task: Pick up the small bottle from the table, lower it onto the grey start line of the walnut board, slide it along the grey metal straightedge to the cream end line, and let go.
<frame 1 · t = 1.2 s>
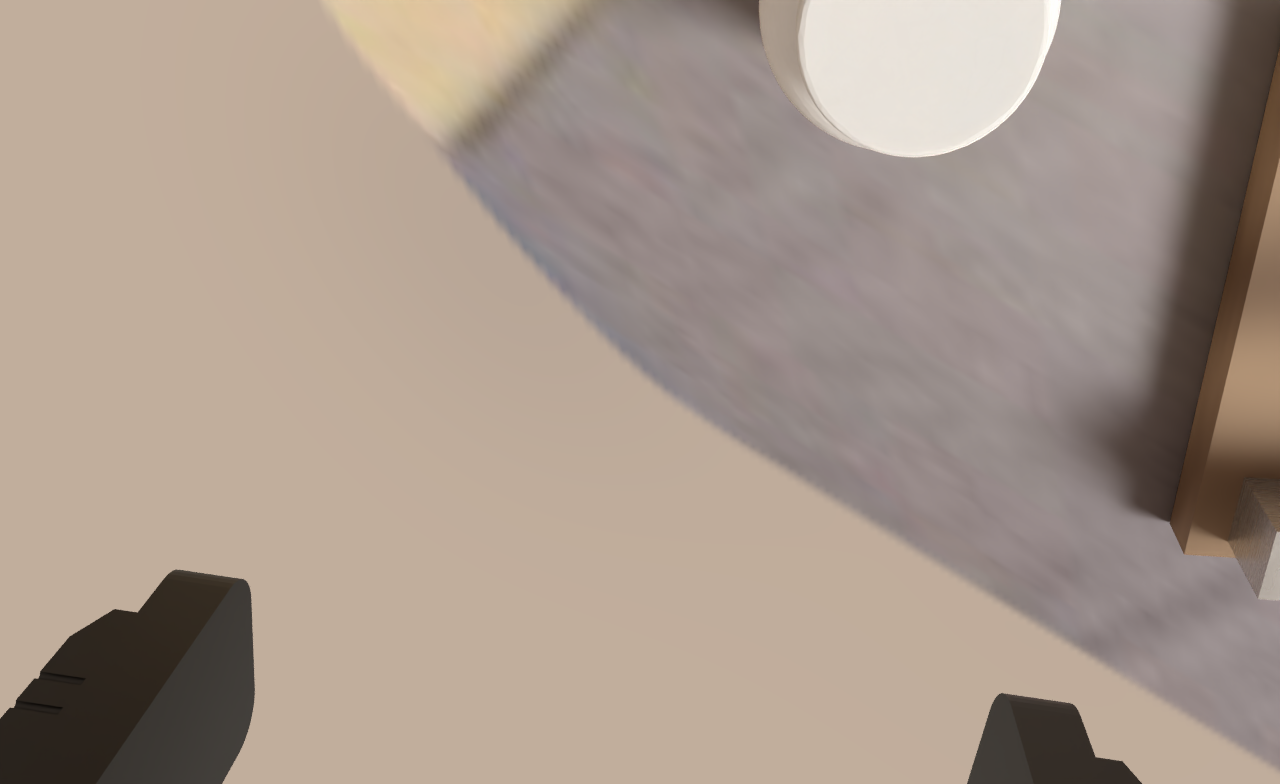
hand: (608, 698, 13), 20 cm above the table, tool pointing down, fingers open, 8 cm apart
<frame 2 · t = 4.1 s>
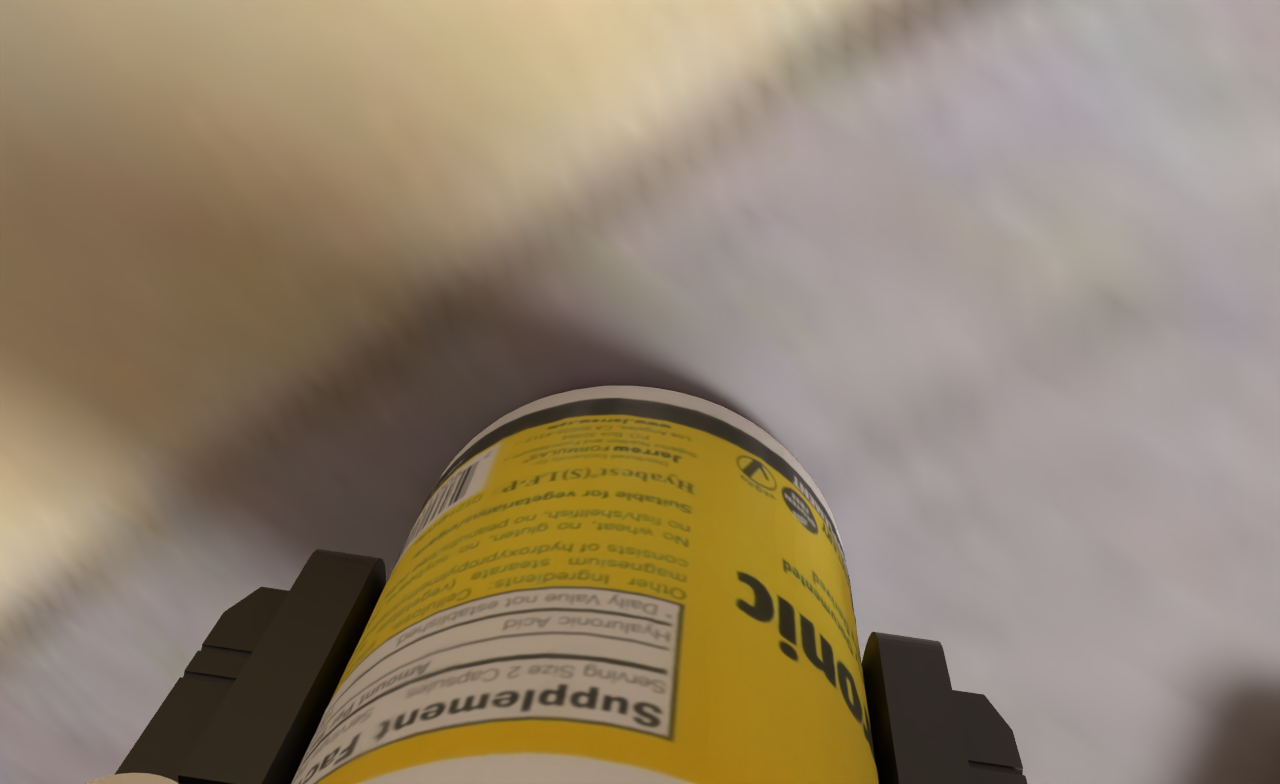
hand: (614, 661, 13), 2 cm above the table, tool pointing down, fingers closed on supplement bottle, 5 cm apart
supplement bottle: (635, 552, 15), on the table, touching gripper
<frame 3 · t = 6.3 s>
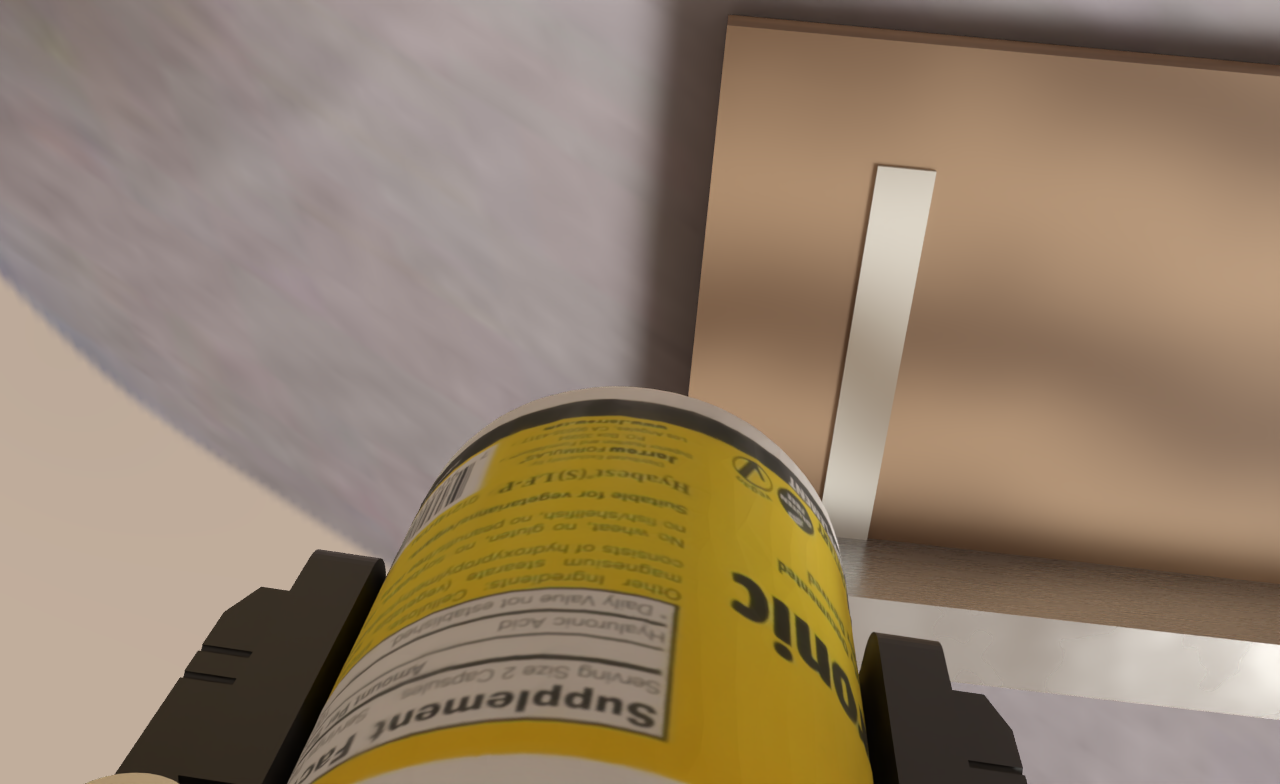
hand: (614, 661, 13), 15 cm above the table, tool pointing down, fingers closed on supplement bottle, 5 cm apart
metal straightedge: (1230, 581, 30), resting on walnut board
supplement bottle: (632, 553, 15), point 13 cm above the table, touching gripper
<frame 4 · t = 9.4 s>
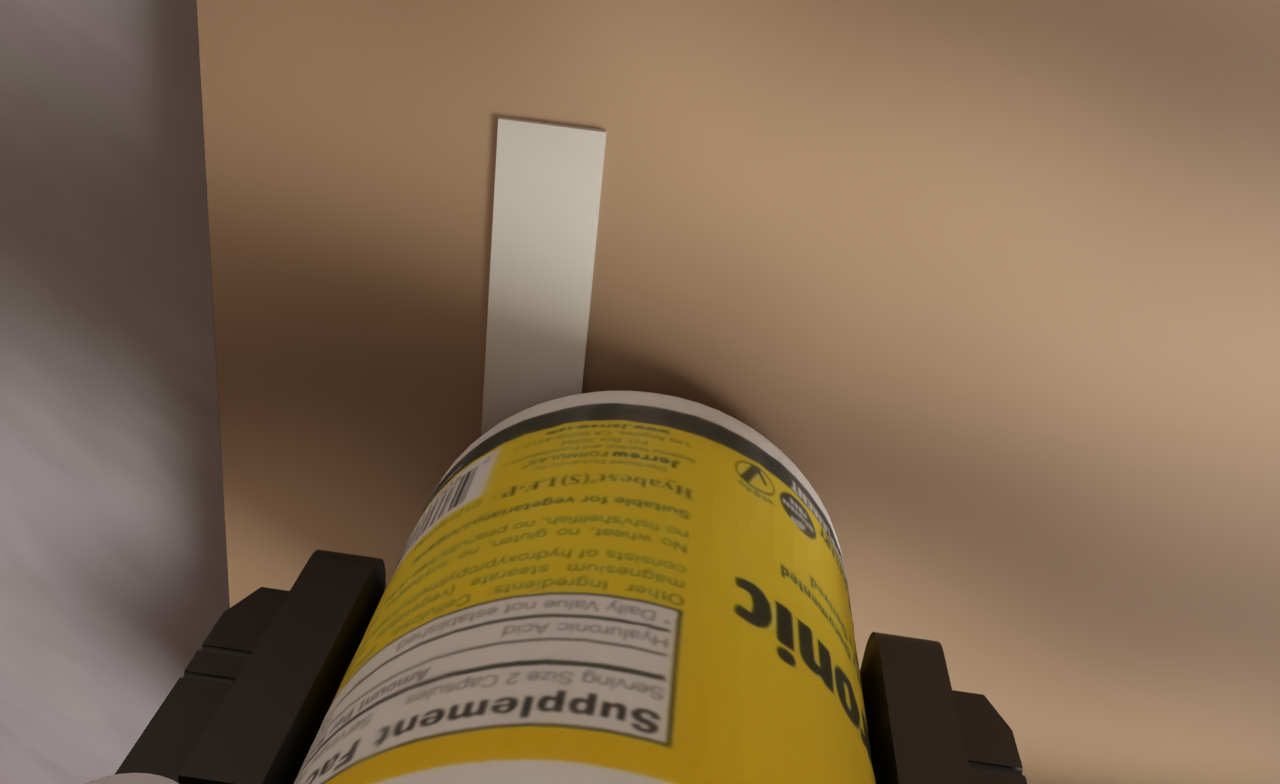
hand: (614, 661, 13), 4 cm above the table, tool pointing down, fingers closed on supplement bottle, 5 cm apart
supplement bottle: (634, 556, 15), point 2 cm above the table, touching gripper
walnut board: (1271, 518, 16), on the table
when the fingers open (4 cm above the table, at t = 14.6 s): supplement bottle stays where it is, resting on walnut board.
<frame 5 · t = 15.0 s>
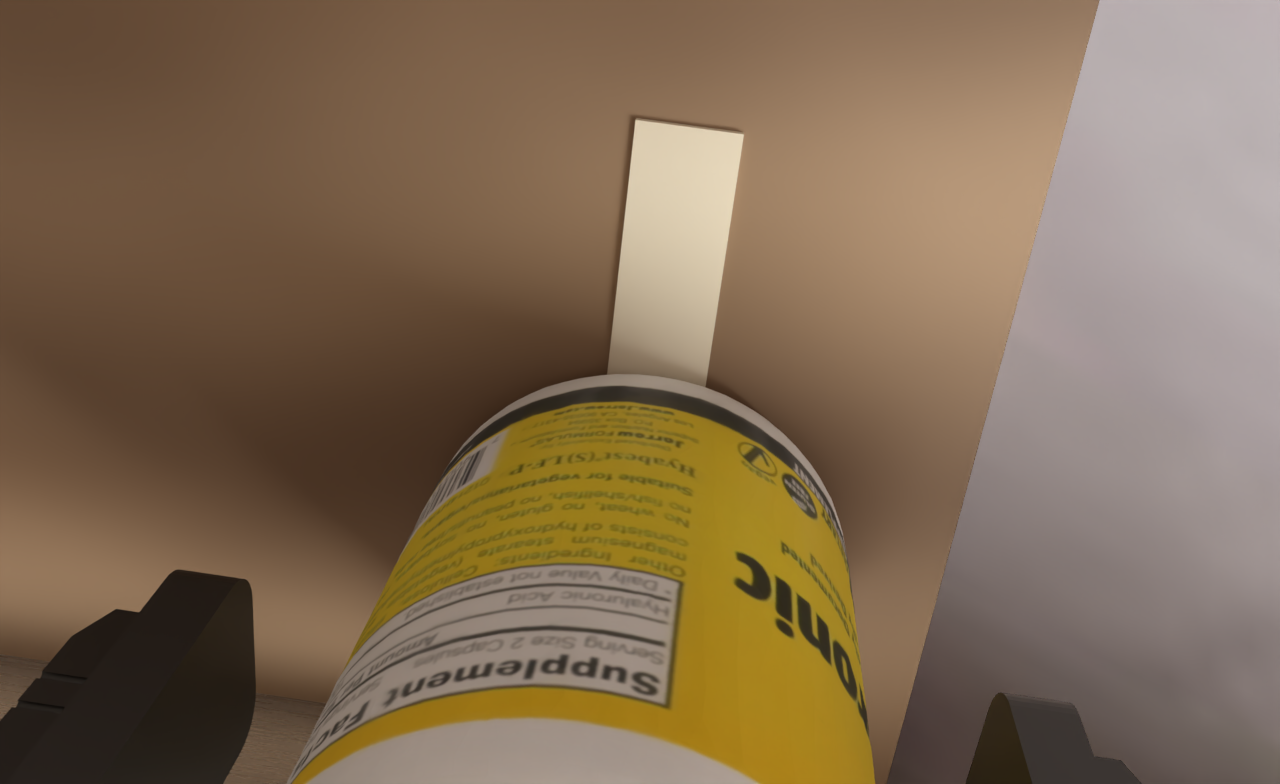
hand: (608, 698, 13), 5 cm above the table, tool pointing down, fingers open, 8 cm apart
supplement bottle: (640, 538, 16), point 1 cm above the table, touching walnut board
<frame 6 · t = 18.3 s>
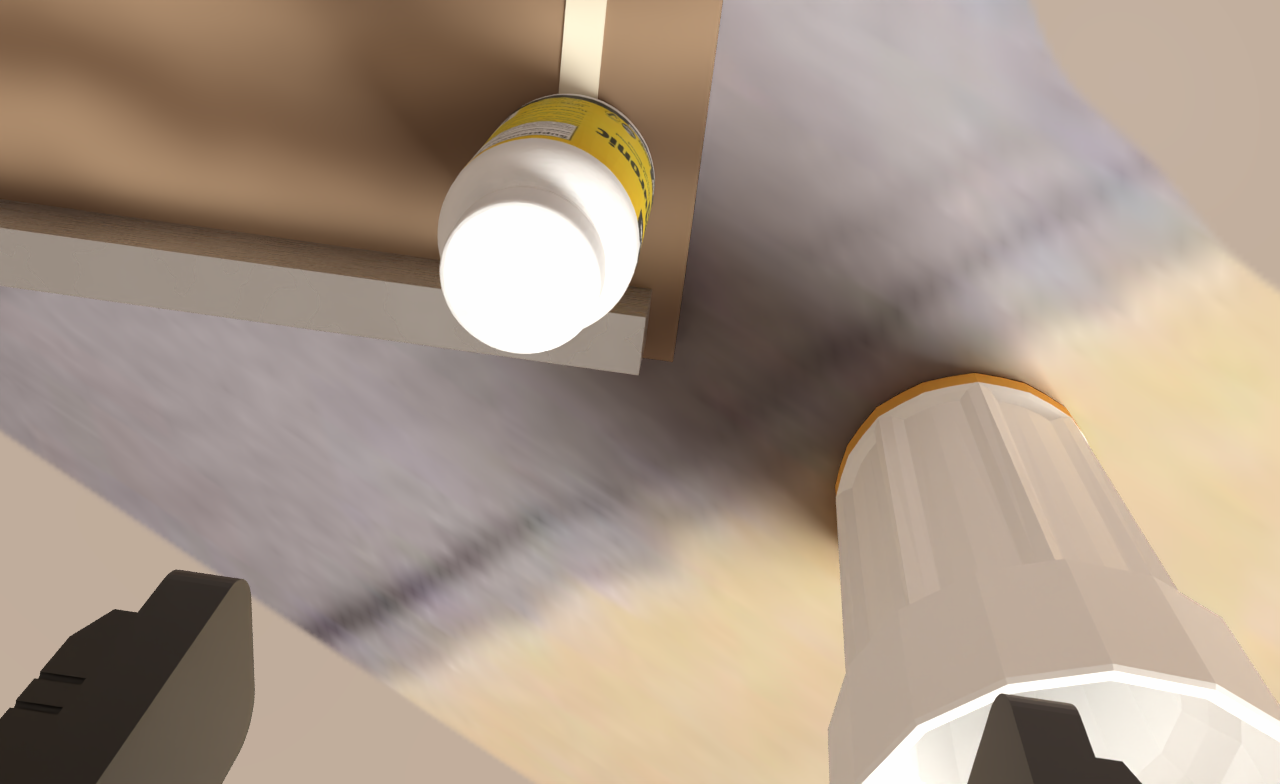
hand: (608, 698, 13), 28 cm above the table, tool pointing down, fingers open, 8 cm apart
cup: (962, 484, 43), on the table
metal straightedge: (281, 249, 41), resting on walnut board
supplement bottle: (573, 173, 38), point 1 cm above the table, touching walnut board
walnut board: (278, 90, 39), on the table
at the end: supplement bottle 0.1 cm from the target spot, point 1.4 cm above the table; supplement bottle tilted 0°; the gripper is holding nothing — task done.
